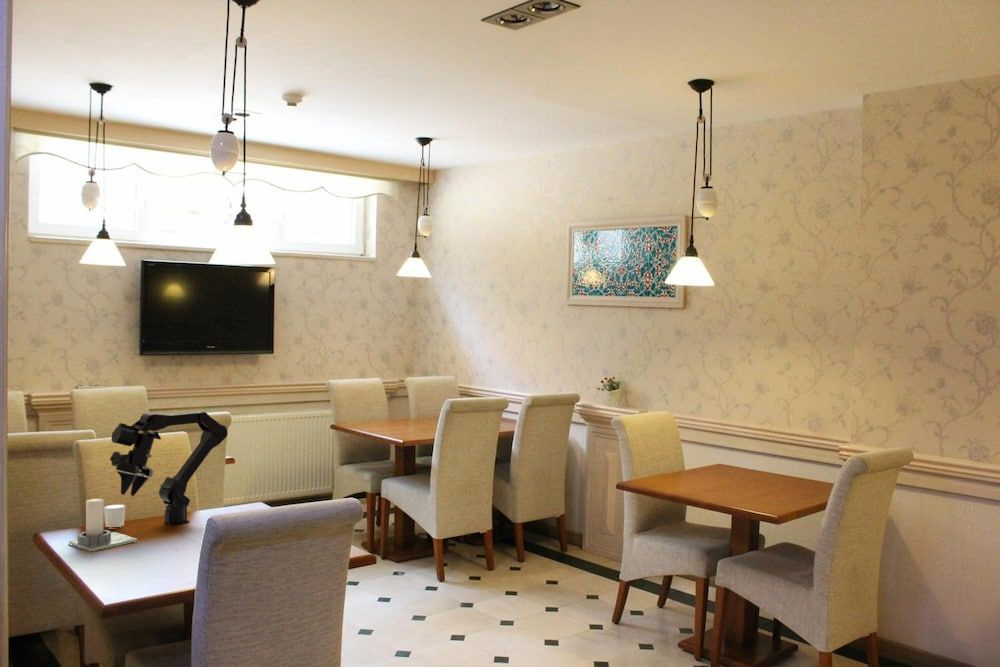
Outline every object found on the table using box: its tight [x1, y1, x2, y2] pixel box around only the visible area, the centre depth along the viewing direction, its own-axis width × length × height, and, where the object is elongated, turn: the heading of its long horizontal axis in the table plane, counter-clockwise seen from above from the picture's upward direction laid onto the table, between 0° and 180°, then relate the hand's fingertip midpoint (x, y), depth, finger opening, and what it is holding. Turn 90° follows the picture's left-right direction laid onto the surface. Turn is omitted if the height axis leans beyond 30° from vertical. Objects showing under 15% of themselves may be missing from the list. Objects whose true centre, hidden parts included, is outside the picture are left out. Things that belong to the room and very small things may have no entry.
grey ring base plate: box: [68, 529, 138, 552], centre depth 272 cm, size 15×14×4 cm
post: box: [85, 498, 104, 537], centre depth 270 cm, size 5×5×13 cm
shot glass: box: [103, 503, 126, 529], centre depth 294 cm, size 7×7×7 cm
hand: (127, 495), depth 286 cm, fingers open, 9 cm apart
